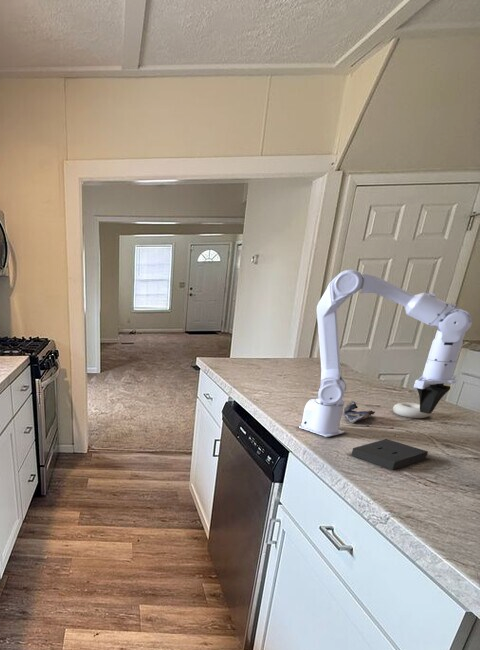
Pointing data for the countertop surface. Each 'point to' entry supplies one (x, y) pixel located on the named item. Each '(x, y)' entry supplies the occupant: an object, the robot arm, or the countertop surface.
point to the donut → (409, 410)
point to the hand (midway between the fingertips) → (425, 412)
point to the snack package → (355, 413)
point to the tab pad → (402, 449)
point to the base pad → (381, 456)
